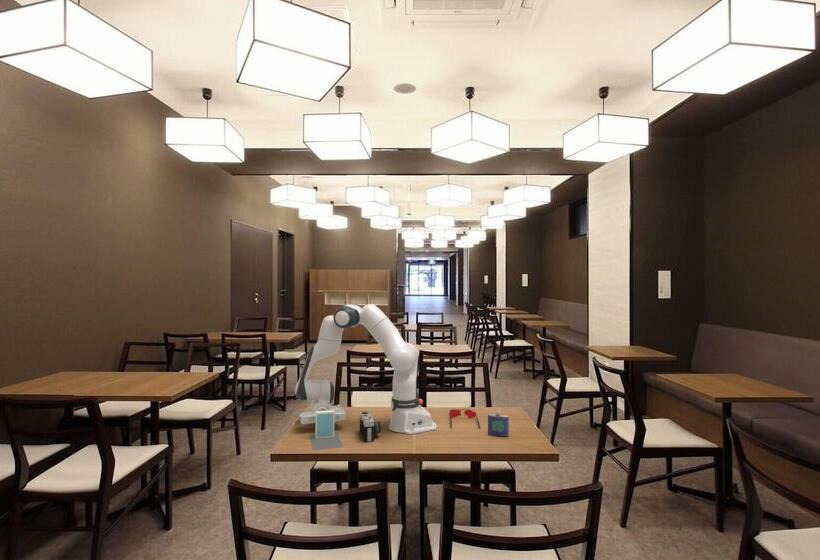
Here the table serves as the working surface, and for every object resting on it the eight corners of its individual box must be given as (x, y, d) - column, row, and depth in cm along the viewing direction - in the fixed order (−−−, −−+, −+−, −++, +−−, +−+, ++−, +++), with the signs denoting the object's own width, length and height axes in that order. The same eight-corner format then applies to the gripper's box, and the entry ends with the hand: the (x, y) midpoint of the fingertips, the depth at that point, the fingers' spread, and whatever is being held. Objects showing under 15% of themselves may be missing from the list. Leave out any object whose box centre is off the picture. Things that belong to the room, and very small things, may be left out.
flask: (508, 435, 195) (508, 411, 195) (508, 437, 192) (508, 413, 192) (487, 433, 197) (488, 410, 197) (487, 435, 194) (487, 411, 194)
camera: (382, 442, 185) (381, 418, 185) (360, 444, 183) (359, 420, 184) (379, 431, 199) (378, 409, 199) (359, 433, 197) (358, 411, 197)
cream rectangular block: (333, 434, 192) (333, 410, 192) (334, 436, 190) (334, 411, 190) (315, 436, 190) (315, 411, 190) (315, 438, 188) (315, 413, 188)
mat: (337, 433, 196) (337, 432, 196) (343, 448, 178) (343, 447, 178) (310, 435, 192) (310, 434, 192) (313, 451, 175) (313, 450, 175)
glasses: (476, 418, 220) (476, 408, 220) (480, 429, 203) (480, 419, 203) (448, 418, 220) (448, 408, 220) (450, 429, 204) (450, 418, 204)
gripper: (298, 407, 202) (300, 416, 188) (343, 404, 207) (347, 412, 194) (298, 421, 201) (300, 431, 188) (342, 417, 207) (347, 427, 194)
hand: (324, 421), depth 191 cm, fingers closed
